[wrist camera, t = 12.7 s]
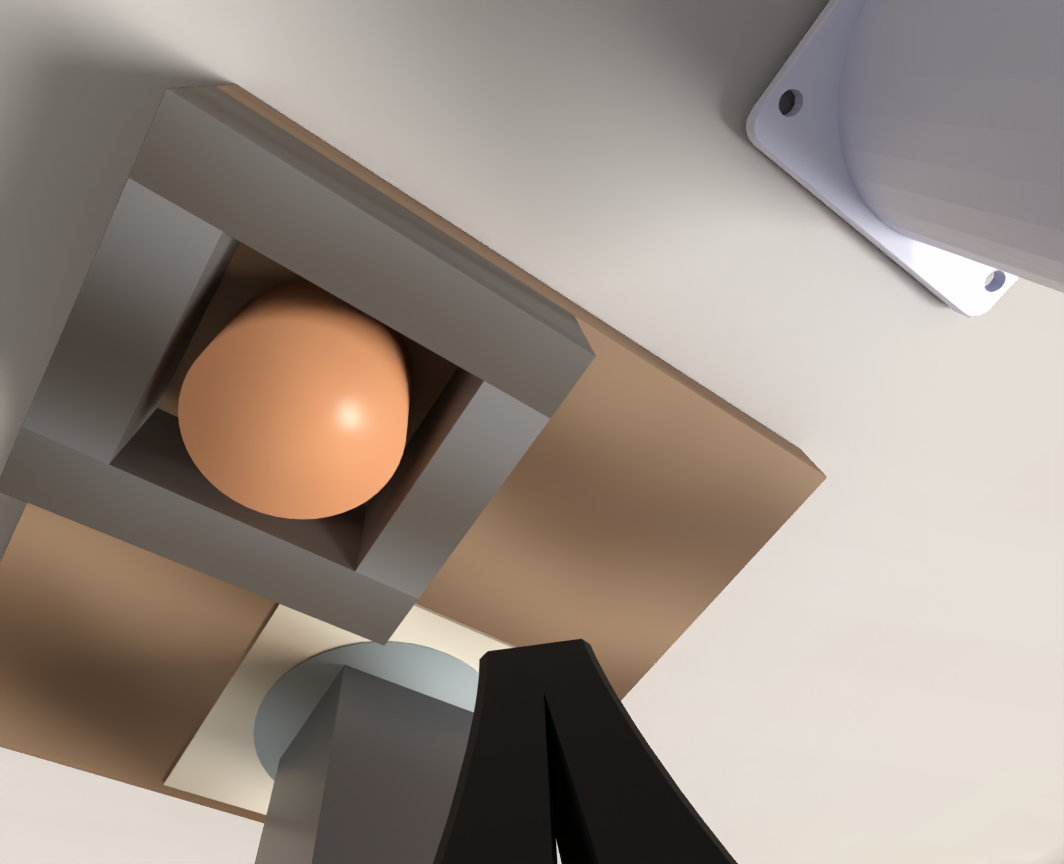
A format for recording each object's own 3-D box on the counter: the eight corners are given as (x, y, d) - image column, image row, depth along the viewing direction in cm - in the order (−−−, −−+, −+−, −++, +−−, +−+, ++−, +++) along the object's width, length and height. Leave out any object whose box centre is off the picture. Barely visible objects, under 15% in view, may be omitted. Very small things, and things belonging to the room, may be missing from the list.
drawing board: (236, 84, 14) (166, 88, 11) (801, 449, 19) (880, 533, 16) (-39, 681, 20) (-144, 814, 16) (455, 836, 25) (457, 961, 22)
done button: (270, 243, 14) (235, 276, 12) (446, 345, 15) (447, 393, 13) (188, 402, 15) (142, 461, 13) (357, 483, 17) (343, 549, 14)
